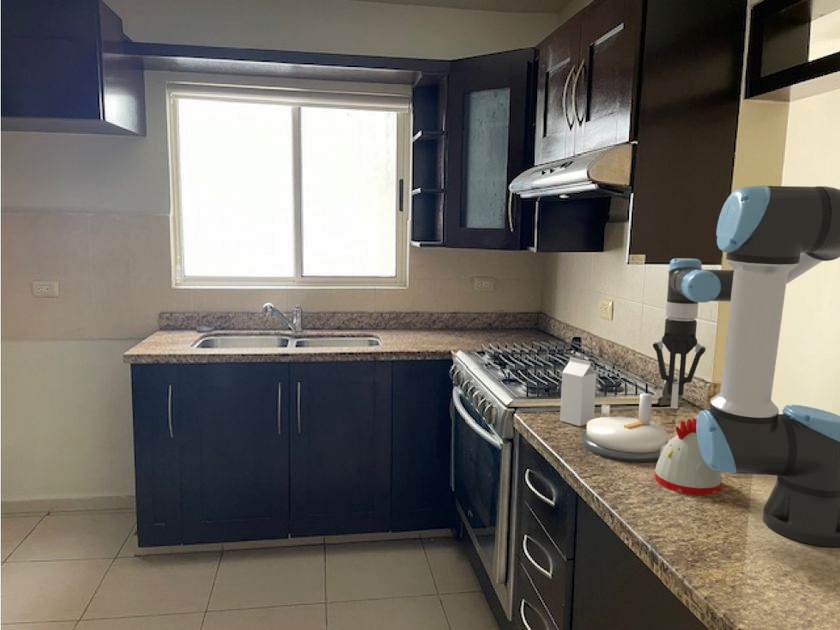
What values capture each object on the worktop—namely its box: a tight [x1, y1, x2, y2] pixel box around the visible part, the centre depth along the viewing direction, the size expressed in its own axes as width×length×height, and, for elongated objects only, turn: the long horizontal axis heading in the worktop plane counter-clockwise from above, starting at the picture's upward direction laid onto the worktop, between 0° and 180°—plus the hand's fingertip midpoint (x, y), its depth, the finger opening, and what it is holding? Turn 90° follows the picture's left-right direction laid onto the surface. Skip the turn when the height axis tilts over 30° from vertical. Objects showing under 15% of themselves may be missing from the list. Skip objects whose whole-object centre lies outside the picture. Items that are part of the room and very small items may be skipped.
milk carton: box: [559, 357, 597, 427], centre depth 182 cm, size 7×7×19 cm
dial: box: [585, 392, 668, 453], centre depth 161 cm, size 20×20×11 cm
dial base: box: [581, 403, 669, 464], centre depth 163 cm, size 25×22×7 cm
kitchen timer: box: [654, 417, 722, 496], centre depth 139 cm, size 14×14×15 cm
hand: (674, 406), depth 162 cm, fingers closed
